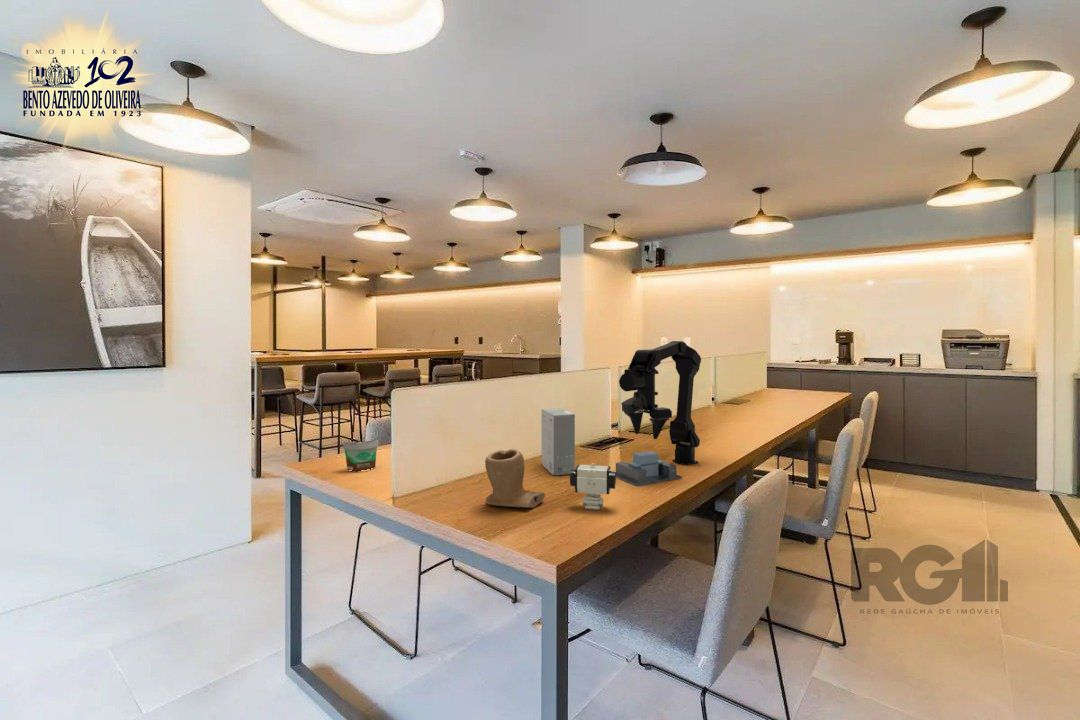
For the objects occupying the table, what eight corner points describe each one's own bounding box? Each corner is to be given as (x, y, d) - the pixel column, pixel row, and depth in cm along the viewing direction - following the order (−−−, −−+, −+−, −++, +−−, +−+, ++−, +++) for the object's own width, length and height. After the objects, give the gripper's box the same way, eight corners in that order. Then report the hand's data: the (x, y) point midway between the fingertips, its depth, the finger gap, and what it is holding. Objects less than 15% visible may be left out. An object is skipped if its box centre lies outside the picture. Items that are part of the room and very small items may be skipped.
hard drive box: (575, 474, 164) (575, 414, 163) (553, 476, 162) (553, 415, 161) (561, 462, 179) (561, 407, 178) (540, 464, 177) (540, 408, 176)
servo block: (635, 478, 157) (635, 456, 156) (627, 475, 160) (628, 454, 160) (663, 474, 162) (663, 452, 161) (655, 471, 165) (655, 450, 165)
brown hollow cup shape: (477, 510, 132) (476, 453, 131) (495, 496, 143) (495, 444, 142) (531, 516, 127) (530, 458, 126) (545, 501, 138) (545, 447, 137)
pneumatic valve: (572, 503, 136) (572, 460, 135) (615, 506, 133) (615, 462, 133) (569, 510, 131) (569, 465, 130) (614, 513, 128) (614, 467, 127)
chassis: (653, 468, 171) (653, 456, 171) (682, 478, 159) (682, 465, 158) (610, 474, 163) (610, 462, 163) (636, 486, 151) (636, 473, 150)
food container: (350, 475, 165) (349, 445, 164) (343, 471, 169) (342, 442, 169) (385, 468, 173) (384, 439, 172) (377, 465, 177) (377, 437, 177)
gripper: (608, 387, 166) (608, 433, 167) (644, 393, 149) (644, 444, 150) (635, 385, 171) (635, 430, 172) (673, 391, 154) (673, 440, 155)
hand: (645, 436), depth 162 cm, fingers open, 9 cm apart
